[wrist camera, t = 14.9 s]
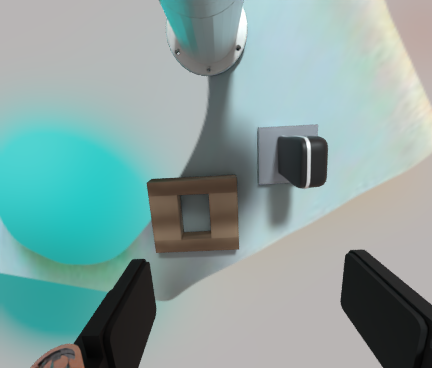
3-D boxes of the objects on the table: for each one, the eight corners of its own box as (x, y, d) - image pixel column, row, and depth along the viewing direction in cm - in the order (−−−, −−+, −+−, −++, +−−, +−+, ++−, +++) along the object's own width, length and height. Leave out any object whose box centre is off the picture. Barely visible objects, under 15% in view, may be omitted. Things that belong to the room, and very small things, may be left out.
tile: (257, 127, 38) (259, 127, 37) (315, 124, 38) (318, 124, 37) (258, 183, 40) (259, 184, 39) (312, 180, 40) (314, 181, 39)
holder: (151, 179, 40) (146, 182, 37) (235, 174, 40) (236, 178, 37) (160, 244, 44) (156, 252, 41) (237, 241, 43) (239, 249, 40)
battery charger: (299, 173, 39) (331, 190, 28) (277, 174, 39) (301, 192, 28) (299, 133, 37) (334, 134, 26) (277, 135, 37) (302, 137, 26)
